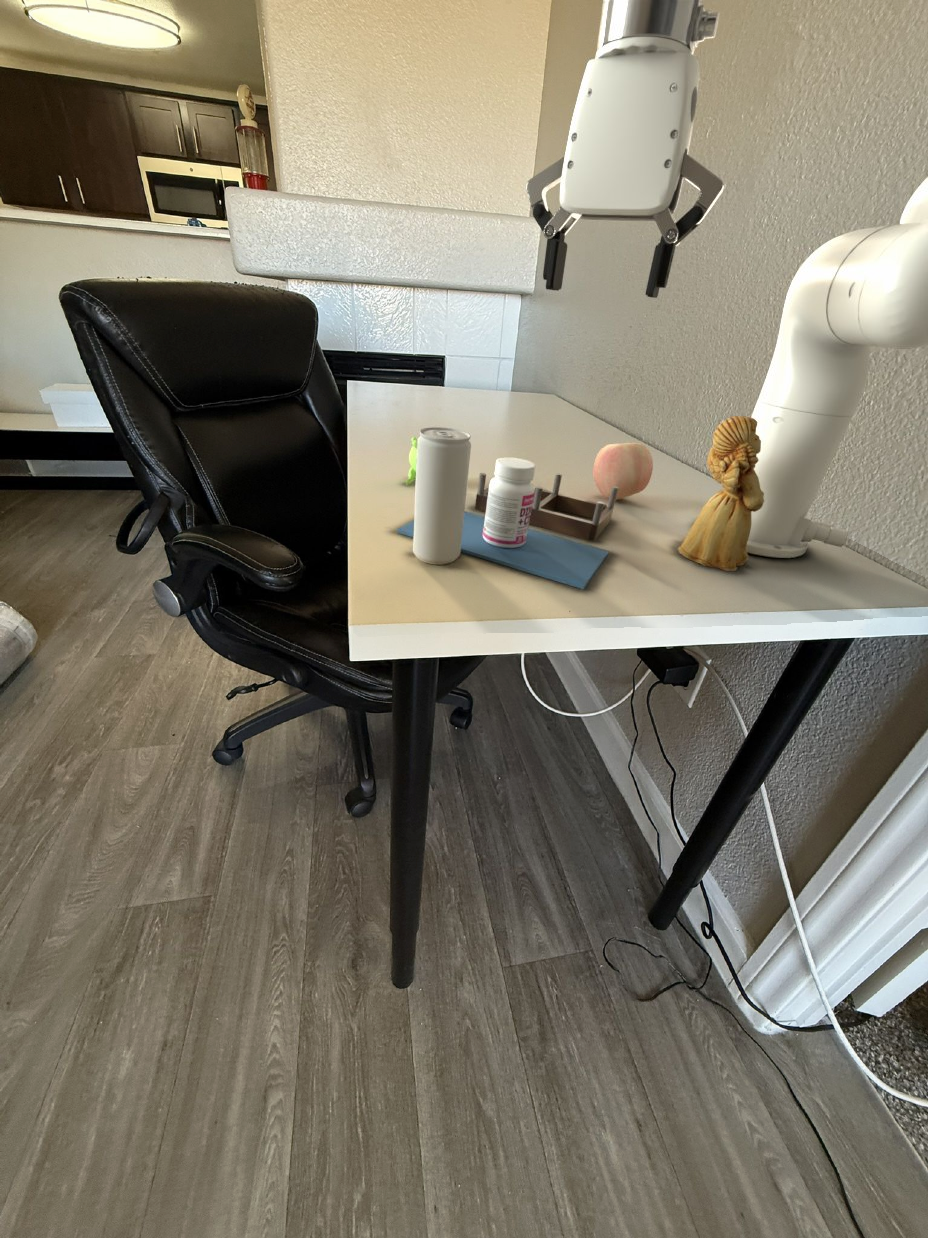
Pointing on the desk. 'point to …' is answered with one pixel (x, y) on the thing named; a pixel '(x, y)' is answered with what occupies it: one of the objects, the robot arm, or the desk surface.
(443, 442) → the beverage can
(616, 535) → the desk surface
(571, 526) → the brown divided tray
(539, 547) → the mat
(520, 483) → the pill bottle
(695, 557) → the figurine
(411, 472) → the green toy figure
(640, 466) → the peach
